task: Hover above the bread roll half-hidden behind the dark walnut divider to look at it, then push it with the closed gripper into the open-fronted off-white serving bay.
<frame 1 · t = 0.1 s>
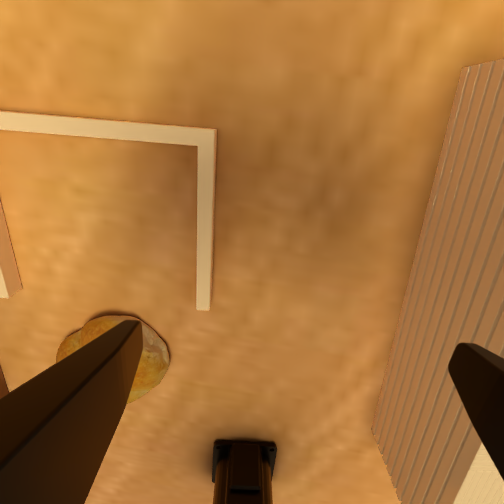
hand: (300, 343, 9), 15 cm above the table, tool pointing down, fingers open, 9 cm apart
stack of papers: (466, 292, 26), on the table
bread roll: (120, 348, 28), on the table
serving bay: (103, 222, 23), on the table
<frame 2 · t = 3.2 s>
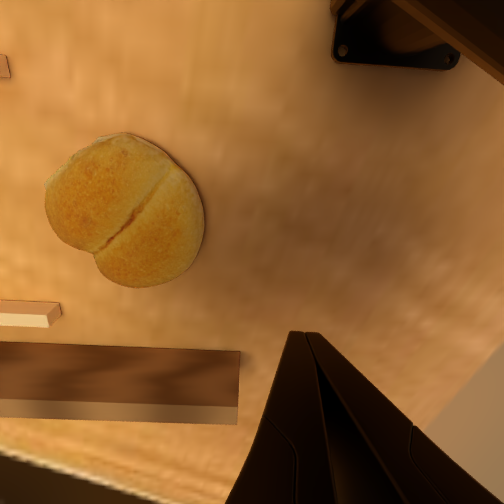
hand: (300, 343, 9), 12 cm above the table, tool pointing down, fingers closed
walnut divider: (96, 353, 24), on the table
bread roll: (136, 209, 20), on the table
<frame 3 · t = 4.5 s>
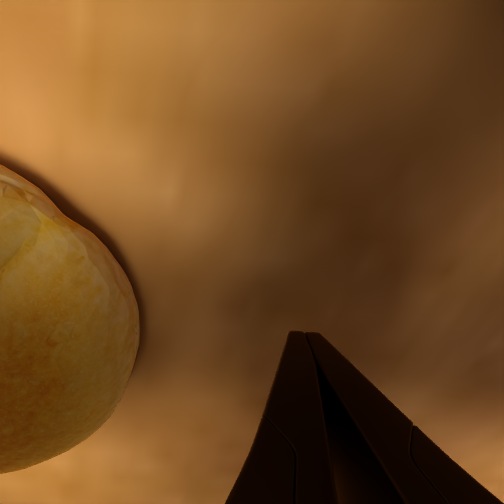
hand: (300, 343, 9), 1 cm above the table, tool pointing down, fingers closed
bread roll: (5, 291, 10), on the table
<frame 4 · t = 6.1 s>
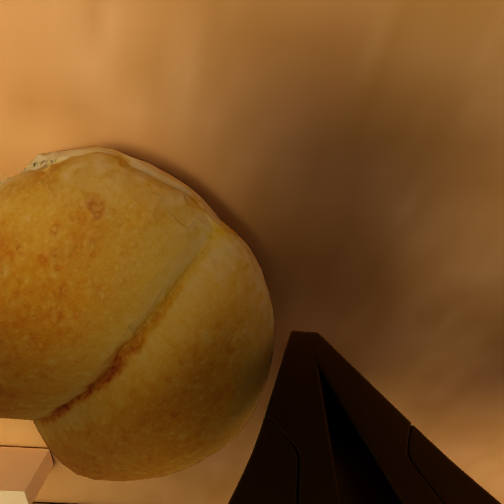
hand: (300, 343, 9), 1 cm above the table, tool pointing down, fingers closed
bread roll: (129, 296, 10), on the table, touching gripper
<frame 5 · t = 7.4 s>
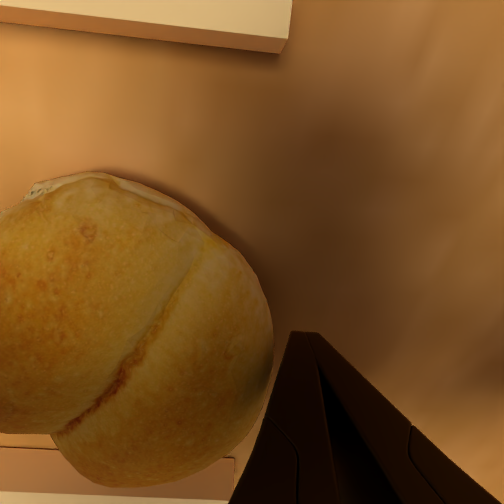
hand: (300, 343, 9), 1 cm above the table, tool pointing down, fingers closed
bread roll: (133, 309, 10), on the table, touching gripper
serving bay: (53, 300, 9), on the table
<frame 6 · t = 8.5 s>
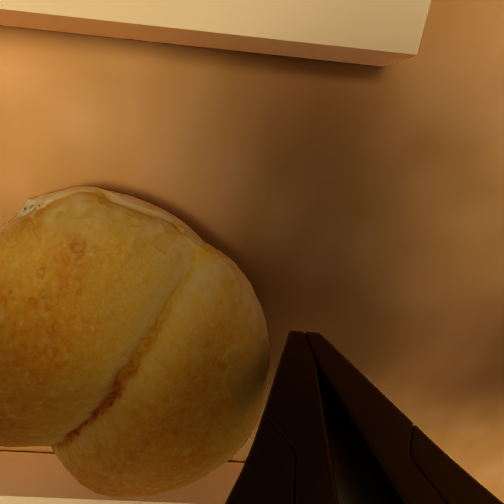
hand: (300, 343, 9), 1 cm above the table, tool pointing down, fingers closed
bread roll: (131, 319, 10), on the table
serving bay: (132, 309, 9), on the table
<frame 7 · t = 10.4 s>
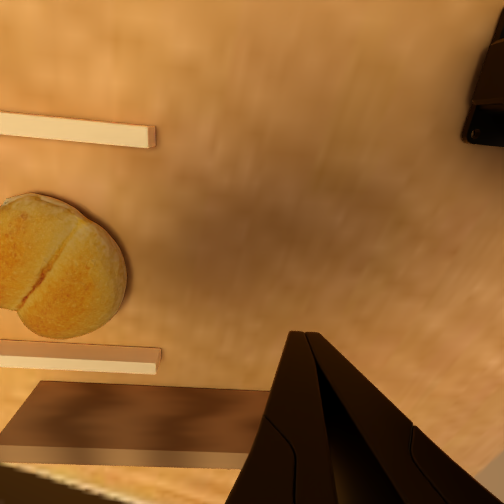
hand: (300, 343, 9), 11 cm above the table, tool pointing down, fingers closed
walnut divider: (187, 395, 24), on the table
bread roll: (61, 260, 20), on the table
serving bay: (61, 254, 19), on the table
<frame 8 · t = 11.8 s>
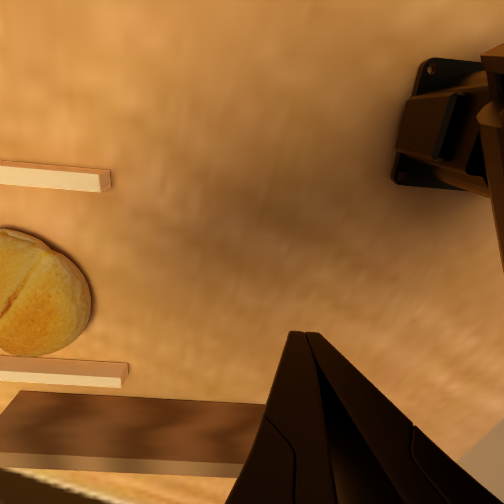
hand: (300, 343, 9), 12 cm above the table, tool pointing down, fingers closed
walnut divider: (155, 405, 26), on the table
bread roll: (32, 284, 22), on the table
serving bay: (32, 280, 21), on the table
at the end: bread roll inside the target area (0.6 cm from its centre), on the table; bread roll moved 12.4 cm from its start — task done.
